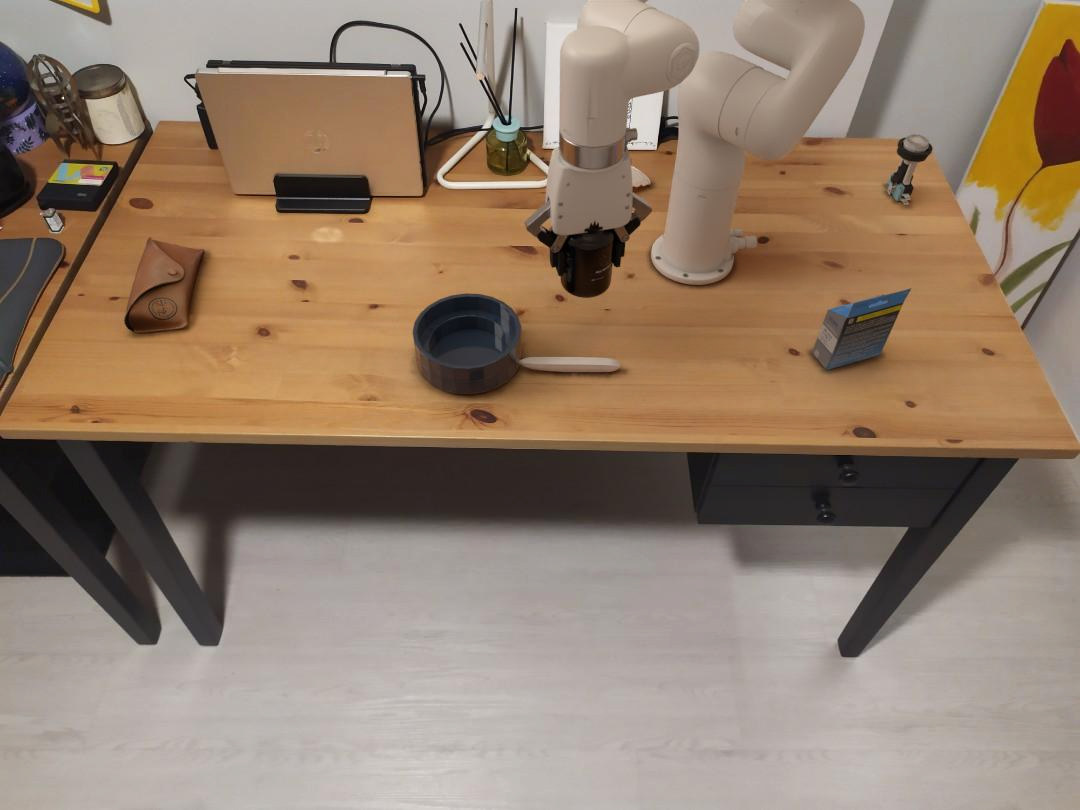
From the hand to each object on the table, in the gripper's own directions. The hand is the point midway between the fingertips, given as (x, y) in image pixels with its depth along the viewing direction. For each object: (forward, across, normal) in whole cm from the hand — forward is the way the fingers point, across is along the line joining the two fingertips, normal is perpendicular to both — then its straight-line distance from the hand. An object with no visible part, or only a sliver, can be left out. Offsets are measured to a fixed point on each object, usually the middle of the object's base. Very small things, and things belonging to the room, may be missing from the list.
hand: (586, 264), depth 106 cm
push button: (+14, -60, -20) cm, 65 cm away
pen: (+8, +3, -2) cm, 9 cm away
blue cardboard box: (+13, -34, +12) cm, 39 cm away
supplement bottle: (+3, 0, 0) cm, 3 cm away
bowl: (+11, +17, +2) cm, 20 cm away
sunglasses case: (+11, +58, -20) cm, 62 cm away
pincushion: (+13, -14, -34) cm, 39 cm away
